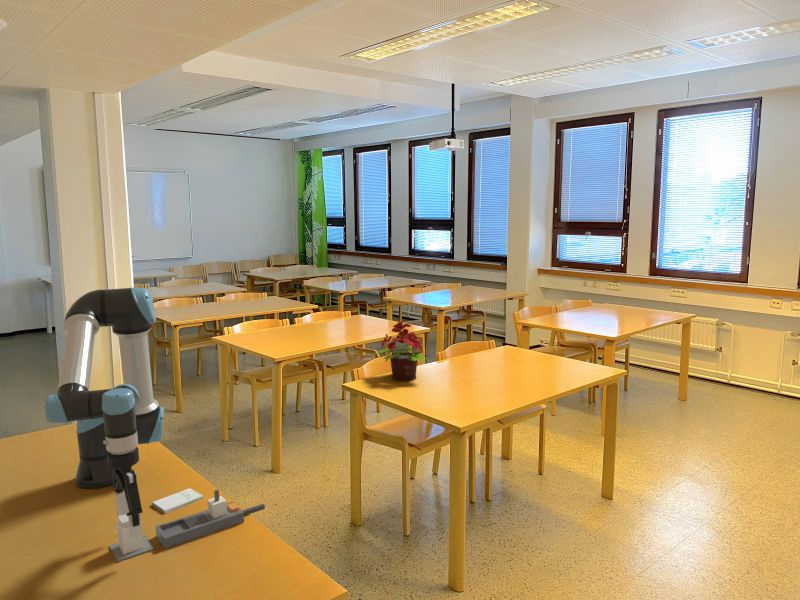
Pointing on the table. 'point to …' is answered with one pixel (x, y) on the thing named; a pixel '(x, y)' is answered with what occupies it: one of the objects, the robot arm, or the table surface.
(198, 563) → the table surface
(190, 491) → the external hard drive
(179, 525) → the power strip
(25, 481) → the table surface
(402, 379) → the potted plant
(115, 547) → the mat
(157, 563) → the table surface
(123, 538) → the block
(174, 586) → the table surface
